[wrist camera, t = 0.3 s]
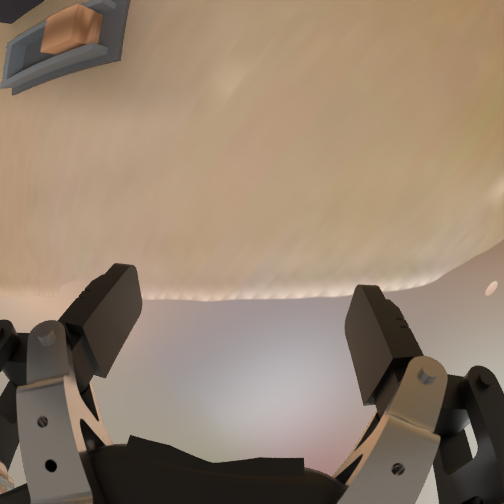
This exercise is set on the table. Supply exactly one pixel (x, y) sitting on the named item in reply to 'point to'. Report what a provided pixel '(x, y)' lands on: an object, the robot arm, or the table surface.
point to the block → (71, 29)
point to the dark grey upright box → (15, 9)
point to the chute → (52, 65)
